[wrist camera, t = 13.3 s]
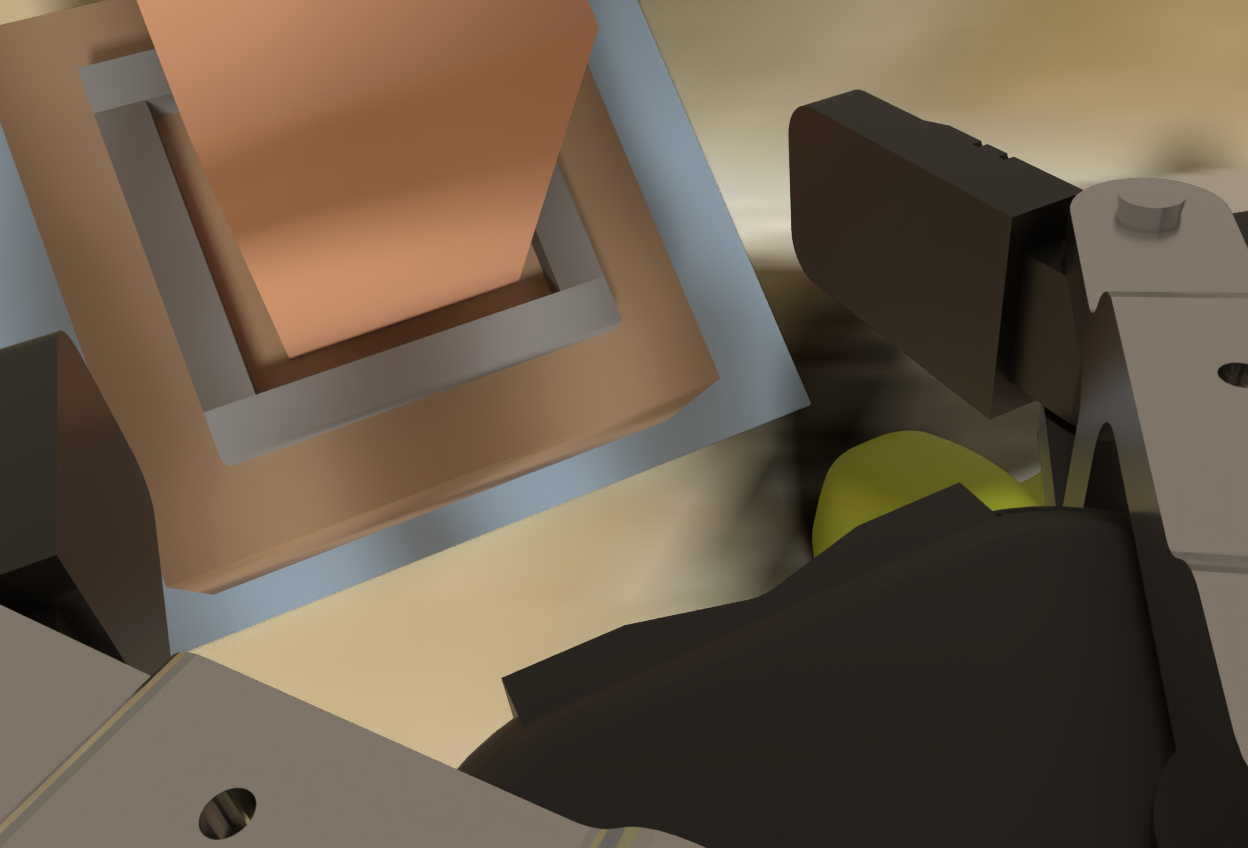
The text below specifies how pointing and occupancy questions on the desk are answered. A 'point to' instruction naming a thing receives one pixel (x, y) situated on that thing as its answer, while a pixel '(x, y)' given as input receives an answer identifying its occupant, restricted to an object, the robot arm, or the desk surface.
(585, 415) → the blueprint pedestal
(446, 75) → the terracotta block
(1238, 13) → the desk surface
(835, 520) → the dumbbell
